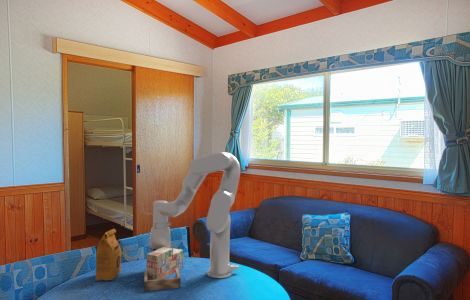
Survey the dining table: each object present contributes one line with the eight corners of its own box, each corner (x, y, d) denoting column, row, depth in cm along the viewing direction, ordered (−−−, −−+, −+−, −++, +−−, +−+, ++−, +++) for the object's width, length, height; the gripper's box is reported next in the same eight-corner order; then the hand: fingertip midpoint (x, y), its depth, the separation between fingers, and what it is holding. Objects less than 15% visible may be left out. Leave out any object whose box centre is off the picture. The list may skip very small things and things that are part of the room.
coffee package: (124, 272, 165) (125, 228, 165) (112, 282, 152) (113, 234, 152) (105, 271, 166) (105, 227, 166) (91, 281, 153) (92, 233, 153)
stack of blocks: (173, 265, 176) (173, 242, 176) (183, 267, 173) (183, 243, 173) (146, 279, 157) (146, 253, 157) (156, 282, 154) (157, 255, 154)
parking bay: (177, 276, 160) (177, 268, 160) (180, 287, 148) (180, 278, 148) (144, 279, 156) (144, 271, 156) (144, 290, 144) (144, 281, 144)
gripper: (174, 222, 176) (174, 257, 176) (145, 224, 172) (144, 259, 172) (176, 226, 168) (175, 262, 168) (145, 227, 164) (144, 264, 164)
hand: (160, 261), depth 170 cm, fingers closed
